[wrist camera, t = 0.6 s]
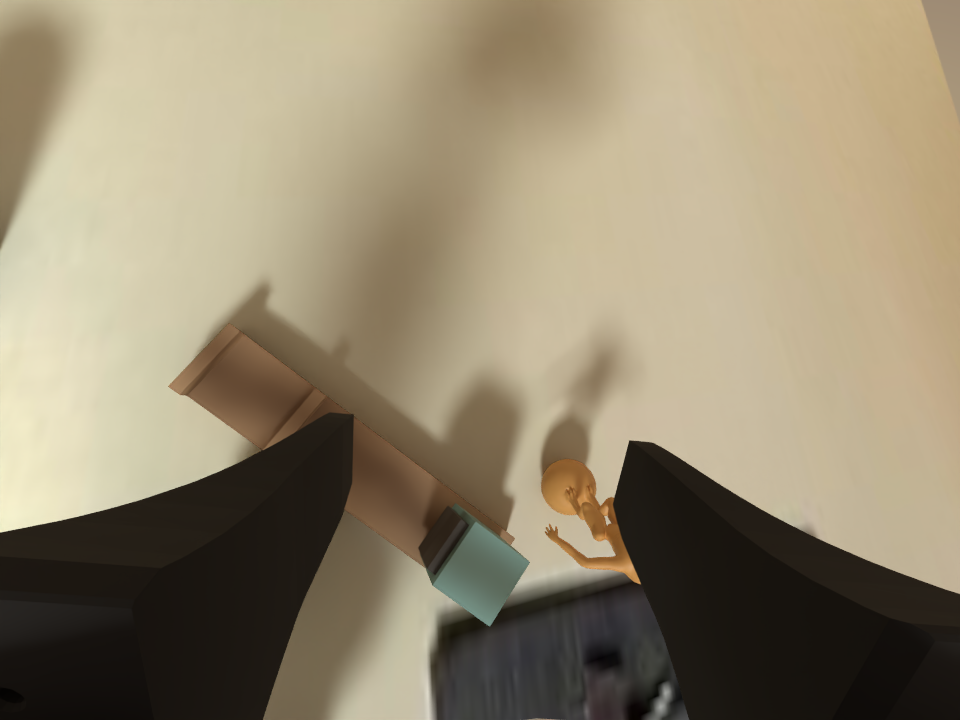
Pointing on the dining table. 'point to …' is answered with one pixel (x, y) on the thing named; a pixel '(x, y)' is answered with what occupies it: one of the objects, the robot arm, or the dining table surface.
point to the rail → (362, 473)
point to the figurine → (584, 514)
